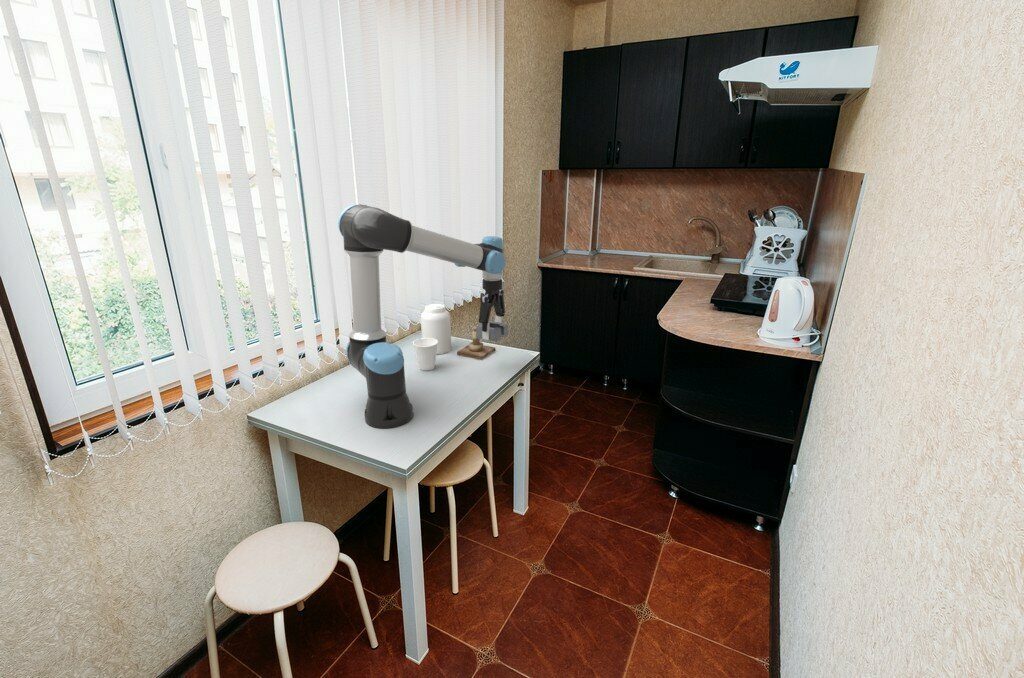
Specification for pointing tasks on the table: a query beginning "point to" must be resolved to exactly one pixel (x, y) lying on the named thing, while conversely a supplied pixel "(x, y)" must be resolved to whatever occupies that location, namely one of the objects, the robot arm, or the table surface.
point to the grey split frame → (493, 330)
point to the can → (437, 326)
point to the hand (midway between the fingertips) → (492, 335)
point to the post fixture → (476, 349)
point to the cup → (425, 352)
